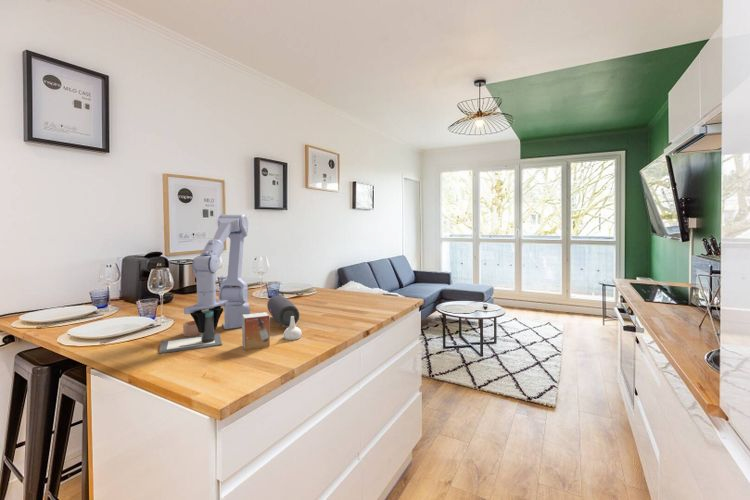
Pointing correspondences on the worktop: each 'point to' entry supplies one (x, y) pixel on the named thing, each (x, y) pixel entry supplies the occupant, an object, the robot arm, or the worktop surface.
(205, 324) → the marker
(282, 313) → the bluetooth speaker
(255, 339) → the small box
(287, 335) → the garlic bulb
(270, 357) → the worktop surface
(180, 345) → the writing mat
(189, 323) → the pen cup
